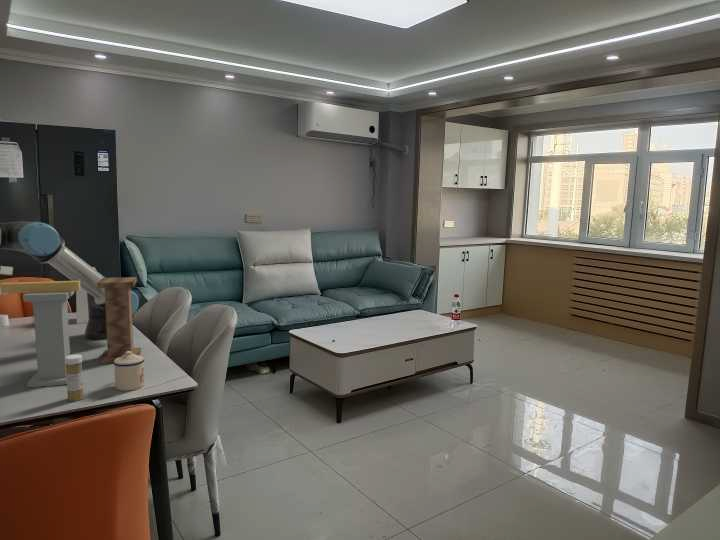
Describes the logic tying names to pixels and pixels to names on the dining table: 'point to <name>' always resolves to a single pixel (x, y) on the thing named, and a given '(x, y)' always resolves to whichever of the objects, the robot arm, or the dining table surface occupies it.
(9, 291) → the ochre bar
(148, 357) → the dining table surface
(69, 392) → the sprinkles bottle
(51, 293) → the grey stand
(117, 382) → the teacup with lid
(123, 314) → the walnut stand
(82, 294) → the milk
